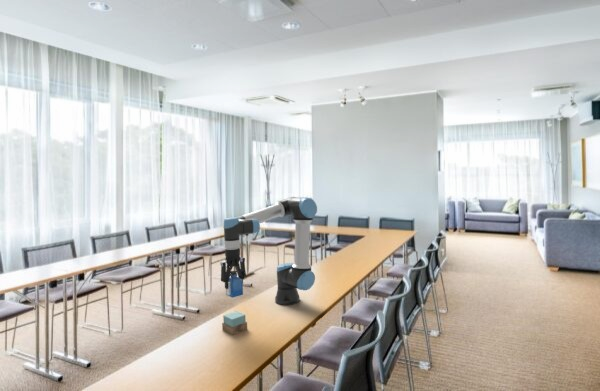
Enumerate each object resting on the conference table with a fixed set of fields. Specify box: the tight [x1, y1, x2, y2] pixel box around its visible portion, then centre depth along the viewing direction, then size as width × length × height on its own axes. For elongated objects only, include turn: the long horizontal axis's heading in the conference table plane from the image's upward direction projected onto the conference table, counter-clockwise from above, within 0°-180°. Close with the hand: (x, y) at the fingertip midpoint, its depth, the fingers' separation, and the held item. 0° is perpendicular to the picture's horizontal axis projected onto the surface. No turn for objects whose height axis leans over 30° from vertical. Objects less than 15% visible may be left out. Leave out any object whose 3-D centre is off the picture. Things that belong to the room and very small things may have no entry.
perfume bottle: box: [225, 270, 244, 299], centre depth 186 cm, size 6×6×12 cm
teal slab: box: [223, 310, 247, 327], centre depth 187 cm, size 8×8×4 cm
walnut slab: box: [221, 321, 248, 336], centre depth 187 cm, size 9×9×4 cm
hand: (234, 292), depth 186 cm, fingers closed on perfume bottle, 6 cm apart
